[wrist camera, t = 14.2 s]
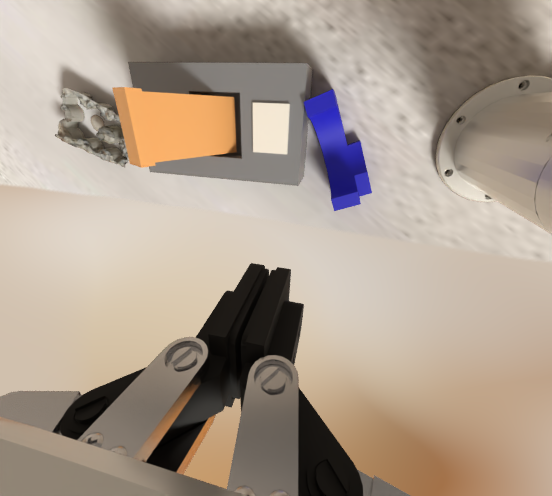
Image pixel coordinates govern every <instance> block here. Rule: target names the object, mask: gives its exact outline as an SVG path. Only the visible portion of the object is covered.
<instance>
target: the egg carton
mask: <svg viewBox="0 0 552 496" xmlns="http://www.w3.org/2000/svg"><path fill="white" fill-rule="evenodd" d="M61 98H63V104H62V106H61V109H62V110H65V119H62V120H61V121H60V122H59V126H58V128H59V131H58V135H56V134H55V136H56V137H57V138H59V139H61V140H62V141H64V142H66V143H68V144H70V145H72V146H75V147H78V148H82V149H84V150H85V151H87V152H88V153H91V154H94V155H96V156H98V157H100V158H101V159H103V160H105V161H108V162H112V163H115V164H119V165H121V166H122V167H125V164H126V163H127V162H128V161H129V157H128V153H127V148H126V144H125V140H124V135H123V131H122V128H121V127H120V126H105V124H104V121H103V120H102V119H101V118H100V117H99V116H97V115H94V116H92V117H91V123H92V126H93V128H94V129H95V130H97V131H98V133H97V134H96V137H97V138H84V134H83V133H82V131H81V130H80V129H79V128H78V122H82V121H83V120H84V118H85V116H84V112H83V110H82V108H81V107H80V106H79V105H78V99H79V100H80V104H82V105H83V106H84V107H86V108H87V109H99V110H100V111H101V116H103V117H105V118H104V119H106V120H108V121H112V120H116V121H118V122H120V118H119V115H116V113H114V110H113V106H111V105H109V104H98V103H96V102H94V101H93V100H92V97H91V95H89V94H87V93H84V92H76V91H74V90H71V89H69V88H63V92H62V95H61ZM100 140H101V141H104V142H107V143H109V144H113V143H119V146H121V147H122V148H121V150H122V151H123V154H122V152H121V151H120V150H119V149H118V148H114V147H113V148H106V149H104V146H103V143H102V142H101V141H100ZM123 156H124V157H127V159H124V158H123Z"/></svg>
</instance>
